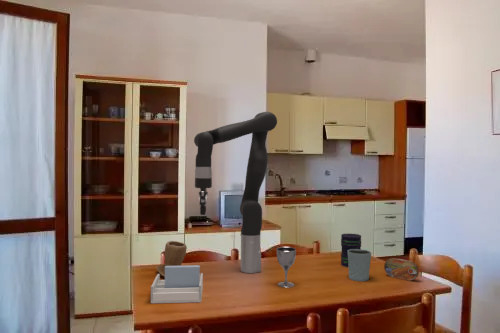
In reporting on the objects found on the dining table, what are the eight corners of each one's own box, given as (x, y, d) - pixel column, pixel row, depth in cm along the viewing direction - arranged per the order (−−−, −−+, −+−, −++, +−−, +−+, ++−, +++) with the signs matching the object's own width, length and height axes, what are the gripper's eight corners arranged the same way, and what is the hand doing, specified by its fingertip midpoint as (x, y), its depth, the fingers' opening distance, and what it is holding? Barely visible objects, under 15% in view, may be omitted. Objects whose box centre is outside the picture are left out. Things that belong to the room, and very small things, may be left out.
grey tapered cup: (343, 278, 173) (343, 251, 173) (354, 273, 180) (354, 247, 180) (364, 283, 166) (364, 255, 166) (375, 278, 173) (375, 251, 173)
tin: (383, 275, 178) (383, 257, 178) (386, 274, 180) (387, 255, 180) (417, 282, 167) (417, 263, 167) (420, 281, 170) (420, 261, 170)
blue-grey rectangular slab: (199, 291, 152) (199, 265, 152) (199, 293, 149) (199, 266, 149) (165, 291, 151) (165, 265, 150) (164, 293, 148) (164, 267, 148)
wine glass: (297, 282, 166) (297, 247, 166) (293, 288, 158) (293, 251, 158) (279, 281, 168) (279, 246, 168) (274, 286, 161) (274, 250, 161)
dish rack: (202, 287, 159) (202, 273, 159) (201, 302, 142) (201, 285, 142) (157, 288, 157) (157, 273, 157) (150, 303, 141) (150, 286, 141)
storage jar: (363, 264, 197) (364, 234, 197) (357, 268, 189) (358, 237, 189) (344, 261, 202) (344, 232, 202) (337, 265, 194) (338, 235, 194)
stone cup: (189, 277, 173) (189, 243, 173) (162, 280, 168) (162, 245, 168) (180, 269, 187) (180, 237, 186) (155, 271, 182) (155, 239, 181)
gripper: (211, 177, 167) (211, 215, 167) (212, 176, 181) (211, 211, 181) (193, 177, 166) (193, 215, 167) (195, 176, 181) (195, 211, 181)
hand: (203, 213), depth 174 cm, fingers open, 8 cm apart
